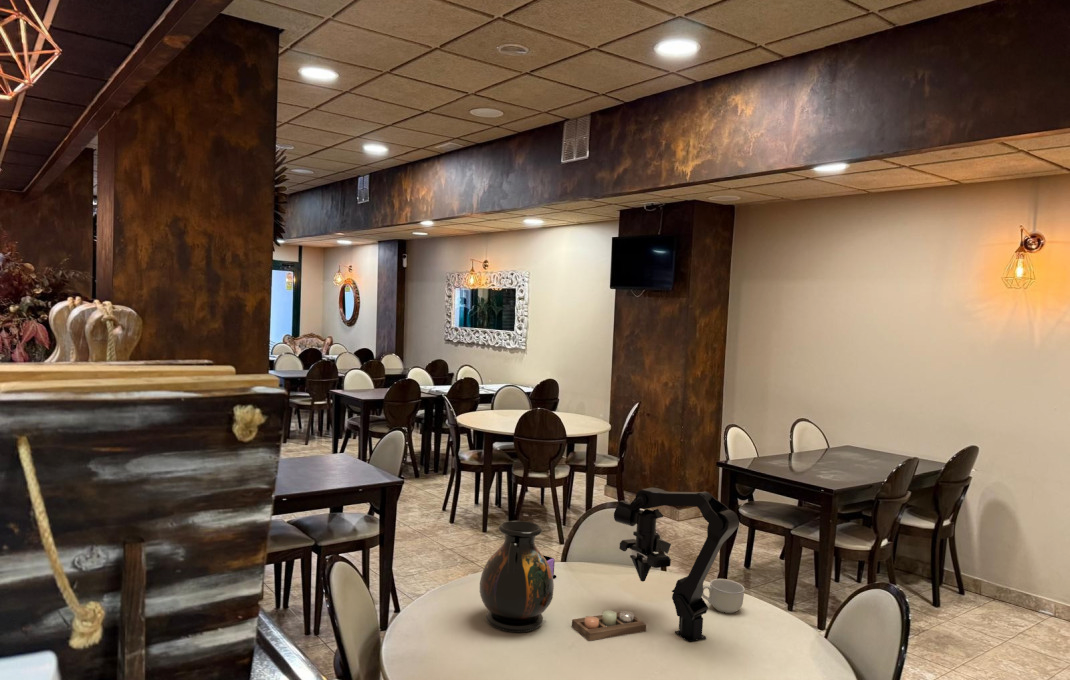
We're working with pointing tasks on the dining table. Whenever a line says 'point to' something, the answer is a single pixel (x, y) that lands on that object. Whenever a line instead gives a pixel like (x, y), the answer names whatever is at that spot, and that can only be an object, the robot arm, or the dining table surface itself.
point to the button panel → (608, 628)
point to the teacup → (725, 595)
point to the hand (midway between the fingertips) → (642, 581)
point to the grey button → (626, 617)
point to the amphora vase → (517, 580)
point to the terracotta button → (591, 622)
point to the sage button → (609, 618)
